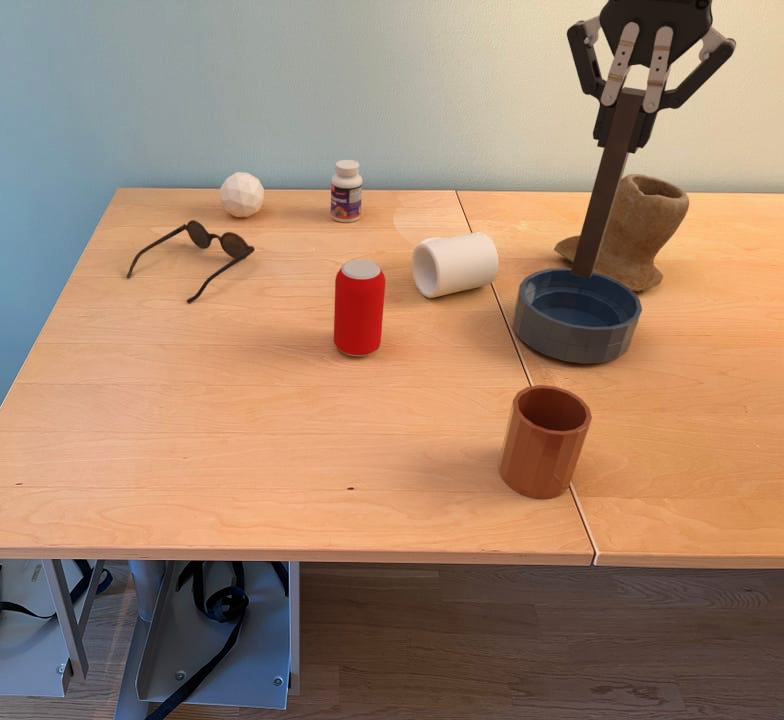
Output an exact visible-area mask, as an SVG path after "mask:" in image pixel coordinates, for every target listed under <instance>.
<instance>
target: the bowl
mask: <svg viewBox="0 0 784 720" xmlns="http://www.w3.org/2000/svg"><path fill="white" fill-rule="evenodd" d="M571 268H572V267H571ZM571 268H570V267H560V268H559V267H558V268H555V267H554V268H547V269H543V270H538V271H535V272H533V273H531V274H529V275H527V276H525V277H524V278H523V280H522V281H521V283H520V284H519V286H518V292H517V294H516V295H517V296H516V300H515V304H514V310H513V315H512V329H513V330H514V332H515V334H516V335H517V337H518V338H519V339H520V340H521V341H522V342H524V343H525V344H526V345H527V346H528V347H529V348H531V349H532V350H535V351H537V352H539V353H540V354H542V355H545V356H547V357H550V358H553V359H557V360H560V361H563V362H569V363H577V364H601V363H606V362H609V361H613V360H616V359H619V358H620V357H621V356H623V355H624V354H625V353H627V352H628V350H629V349H630V346H631V343H632V341H633V338H634V335H635V332H636V329H637V326H638V324H639V320H640V317H641V314H642V312H643V307H642V303H641V299H640V298H639V297H638V296H637V294H636V293H635V291H632V290H631V289H629V288H628V287H626V286H625V285H623V284H622V283H620V282H619V281H616V280H614V279H612V278H609V277H607V276H605V275H602V274H598V273H594V272H593V274H592V276H591V278H590V279H589V278H585V277H581V276H577V275H574V274H570V271H571Z"/></svg>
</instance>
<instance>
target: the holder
mask: <svg viewBox="0 0 784 720" xmlns="http://www.w3.org/2000/svg"><path fill="white" fill-rule="evenodd" d="M511 402H512V403H511V407H510V411H509V416H508V419H507V424H506V429H505V433H504V437H503V442H502V446H501V450H500V455H499V459H498V473H499V475H500V477H501V479H502V480H503V482H504V483H505V485H507V486H508V487H509V488H511V489H512V490H513V491H515V492H517V493H518V494H521V495H523V496H524V497H528V498H532V499H538V500H547V499H553V498H558V497H560V496H562V495H563V494H564V493H566V492H567V490H568V489H569V488H570V485H571V482H572V480H573V477H574V476H575V475H574V474H575V471H576V468H577V466H578V462H579V459H580V456H581V453H582V450H583V447H584V444H585V441H586V438H587V435H588V432H589V428H590V426H591V423H592V419H593V417H592V413H591V409H590V407H589V405H587V404H588V403H586V402H585V401H584V399H582V398H581V397H580V396H578V395H576V394H575V393H573V392H572V391H570V390H567V389H564V388H562V387H559V386H555V385H546V384H545V385H544V384H537V385H531V386H527V387H524V388H523V389H521V390H519V391H517V393H516V394H515V396H514V398H513V399H512V401H511Z"/></svg>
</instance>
